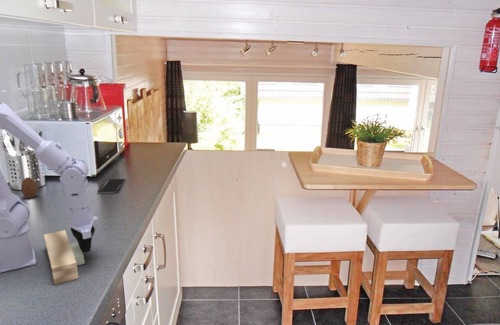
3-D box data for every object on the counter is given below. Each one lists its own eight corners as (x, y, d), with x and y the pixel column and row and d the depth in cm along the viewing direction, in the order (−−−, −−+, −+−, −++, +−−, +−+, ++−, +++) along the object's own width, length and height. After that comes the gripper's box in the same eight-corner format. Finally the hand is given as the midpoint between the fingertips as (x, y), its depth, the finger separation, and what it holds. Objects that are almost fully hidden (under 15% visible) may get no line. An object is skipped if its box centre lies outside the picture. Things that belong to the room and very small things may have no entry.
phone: (96, 192, 153) (107, 179, 167) (96, 194, 153) (107, 181, 167) (117, 192, 153) (126, 178, 168) (117, 194, 154) (126, 181, 168)
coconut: (19, 198, 147) (16, 178, 145) (32, 194, 152) (29, 174, 149) (29, 201, 145) (26, 180, 143) (41, 196, 149) (38, 176, 147)
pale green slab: (56, 271, 102) (54, 263, 101) (52, 257, 109) (51, 249, 108) (84, 263, 106) (83, 255, 105) (79, 250, 112) (78, 242, 111)
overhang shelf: (54, 284, 97) (52, 268, 95) (46, 248, 113) (43, 234, 112) (78, 278, 100) (76, 262, 98) (66, 244, 116) (65, 230, 114)
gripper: (101, 212, 101) (106, 259, 105) (90, 193, 113) (95, 236, 117) (71, 218, 97) (78, 266, 102) (63, 198, 109) (69, 242, 113)
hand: (85, 251), depth 109 cm, fingers closed, pressing on pale green slab
